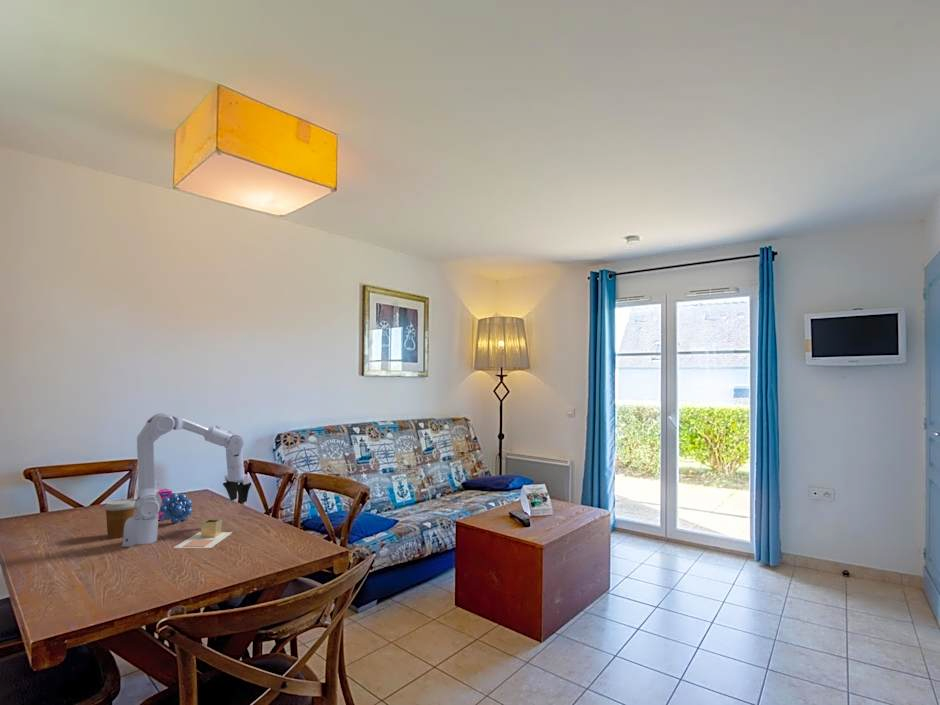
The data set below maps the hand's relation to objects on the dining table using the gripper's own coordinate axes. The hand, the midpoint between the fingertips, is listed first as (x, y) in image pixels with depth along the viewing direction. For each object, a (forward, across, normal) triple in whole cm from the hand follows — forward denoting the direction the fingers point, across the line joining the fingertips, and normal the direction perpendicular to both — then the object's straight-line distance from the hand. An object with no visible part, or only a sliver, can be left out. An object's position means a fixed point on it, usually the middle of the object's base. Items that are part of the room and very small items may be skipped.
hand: (238, 500), depth 192 cm
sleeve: (+8, -4, +13) cm, 16 cm away
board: (+9, -7, +16) cm, 20 cm away
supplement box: (+8, +36, +15) cm, 40 cm away
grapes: (+8, +24, +13) cm, 29 cm away
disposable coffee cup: (+6, +22, +33) cm, 40 cm away
